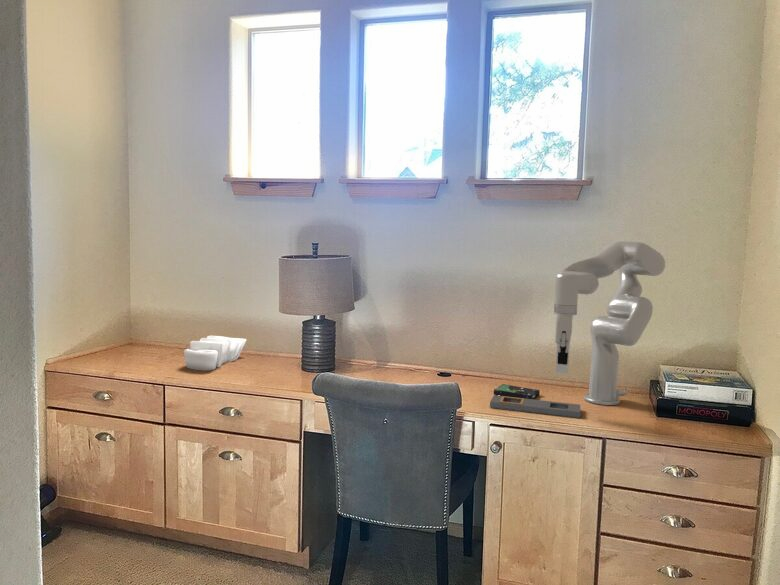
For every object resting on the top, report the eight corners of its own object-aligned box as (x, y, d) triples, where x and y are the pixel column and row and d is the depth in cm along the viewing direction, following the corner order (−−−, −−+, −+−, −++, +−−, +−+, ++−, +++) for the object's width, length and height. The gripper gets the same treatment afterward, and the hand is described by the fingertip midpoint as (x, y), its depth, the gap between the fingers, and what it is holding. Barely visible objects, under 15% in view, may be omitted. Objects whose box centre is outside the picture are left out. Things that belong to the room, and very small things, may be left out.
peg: (568, 370, 212) (569, 342, 211) (567, 373, 208) (569, 344, 207) (556, 369, 213) (557, 341, 212) (555, 372, 209) (557, 343, 208)
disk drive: (539, 397, 233) (502, 390, 240) (540, 389, 233) (502, 383, 240) (531, 403, 224) (492, 395, 231) (532, 395, 224) (493, 388, 231)
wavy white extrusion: (217, 354, 286) (218, 332, 285) (250, 357, 282) (250, 334, 281) (174, 370, 252) (174, 344, 251) (210, 373, 248) (210, 348, 247)
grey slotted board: (580, 410, 214) (580, 404, 214) (580, 418, 205) (580, 411, 205) (493, 400, 223) (494, 394, 223) (489, 407, 214) (490, 401, 213)
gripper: (555, 306, 217) (552, 357, 219) (552, 312, 201) (550, 366, 203) (577, 307, 215) (574, 358, 217) (576, 313, 199) (573, 368, 201)
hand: (562, 362), depth 210 cm, fingers closed on peg, 4 cm apart
